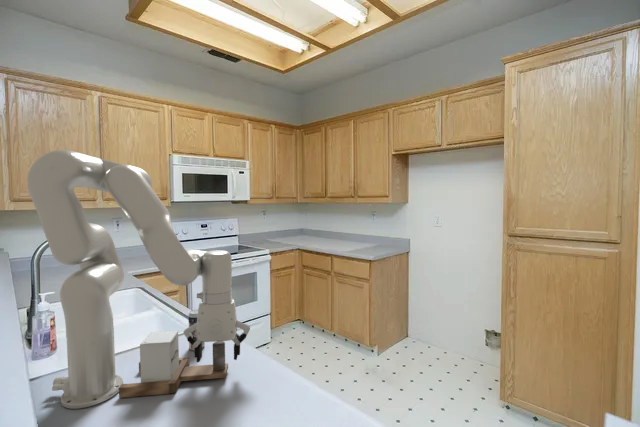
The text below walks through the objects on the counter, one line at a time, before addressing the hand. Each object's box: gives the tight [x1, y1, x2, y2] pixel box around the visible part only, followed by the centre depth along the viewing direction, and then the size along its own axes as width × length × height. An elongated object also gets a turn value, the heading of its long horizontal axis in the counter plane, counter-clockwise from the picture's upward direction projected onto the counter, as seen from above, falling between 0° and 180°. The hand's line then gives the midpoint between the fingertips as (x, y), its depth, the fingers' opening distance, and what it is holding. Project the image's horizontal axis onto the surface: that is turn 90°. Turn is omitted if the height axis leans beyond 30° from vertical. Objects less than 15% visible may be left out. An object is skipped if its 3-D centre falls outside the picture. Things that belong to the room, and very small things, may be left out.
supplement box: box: [139, 330, 180, 383], centre depth 83 cm, size 7×7×13 cm
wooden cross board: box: [118, 341, 229, 399], centre depth 85 cm, size 24×13×9 cm, turn 98°
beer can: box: [187, 309, 206, 352], centre depth 103 cm, size 5×5×12 cm
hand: (217, 358), depth 86 cm, fingers open, 9 cm apart
